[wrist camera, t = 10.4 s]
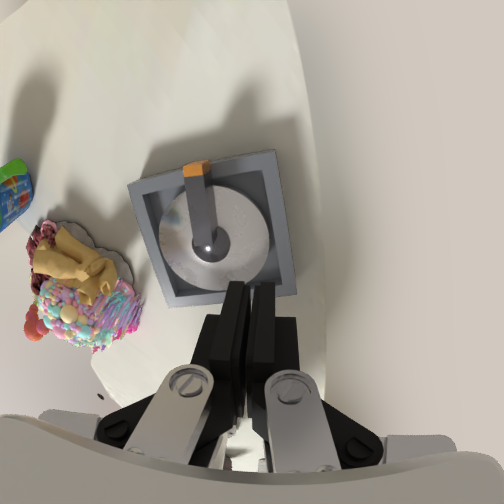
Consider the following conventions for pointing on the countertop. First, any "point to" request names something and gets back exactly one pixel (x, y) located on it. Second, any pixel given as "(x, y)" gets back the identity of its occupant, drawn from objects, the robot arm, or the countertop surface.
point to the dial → (213, 232)
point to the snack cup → (14, 192)
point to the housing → (237, 175)
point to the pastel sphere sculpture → (78, 288)
